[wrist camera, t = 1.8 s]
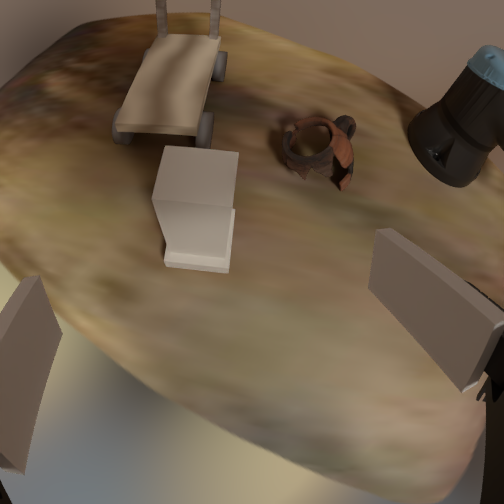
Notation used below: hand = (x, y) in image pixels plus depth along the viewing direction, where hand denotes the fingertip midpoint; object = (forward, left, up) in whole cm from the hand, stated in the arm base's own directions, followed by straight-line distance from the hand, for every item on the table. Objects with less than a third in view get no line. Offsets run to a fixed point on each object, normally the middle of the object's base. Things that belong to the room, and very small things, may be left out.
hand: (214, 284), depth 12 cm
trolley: (+10, -32, -24) cm, 41 cm away
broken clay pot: (-12, -24, -24) cm, 36 cm away
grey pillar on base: (+2, -11, -24) cm, 26 cm away
